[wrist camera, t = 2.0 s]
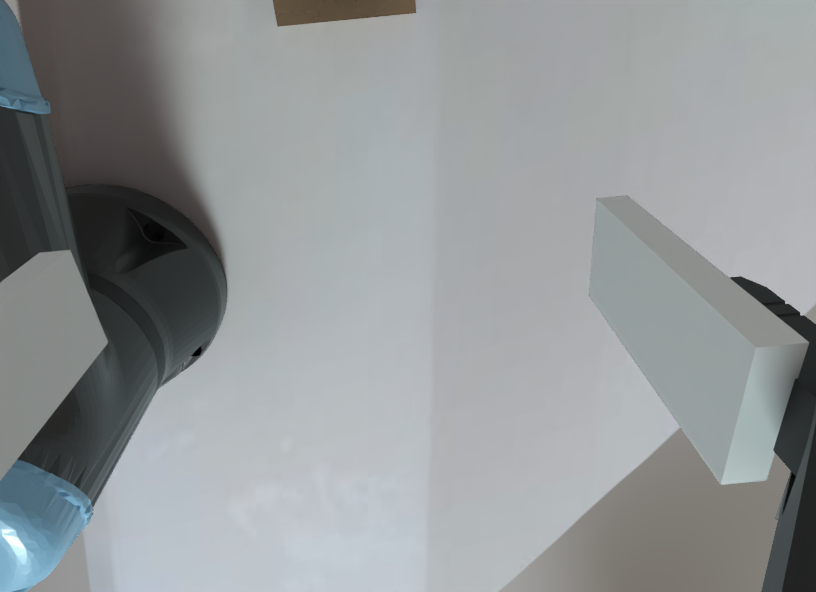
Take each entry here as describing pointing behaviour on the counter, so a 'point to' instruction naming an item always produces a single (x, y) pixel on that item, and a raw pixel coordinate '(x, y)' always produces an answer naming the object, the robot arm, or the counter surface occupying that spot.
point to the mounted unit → (337, 10)
